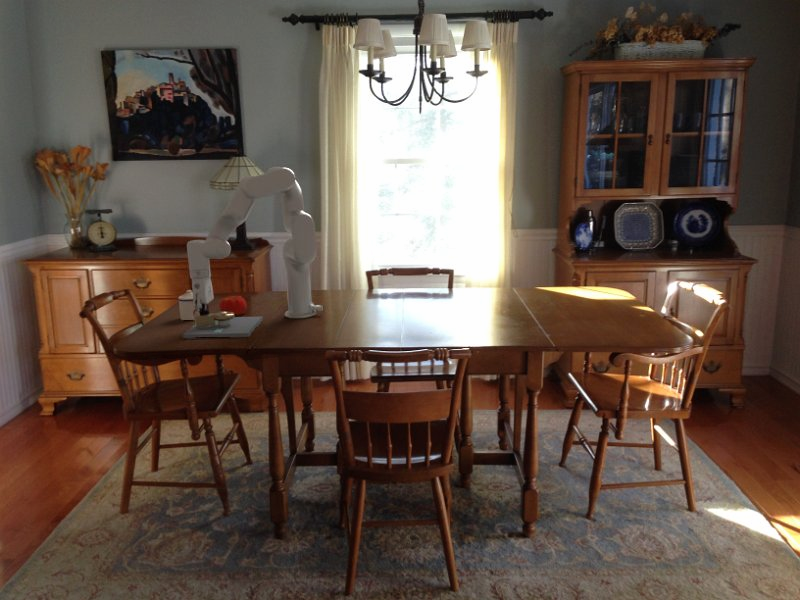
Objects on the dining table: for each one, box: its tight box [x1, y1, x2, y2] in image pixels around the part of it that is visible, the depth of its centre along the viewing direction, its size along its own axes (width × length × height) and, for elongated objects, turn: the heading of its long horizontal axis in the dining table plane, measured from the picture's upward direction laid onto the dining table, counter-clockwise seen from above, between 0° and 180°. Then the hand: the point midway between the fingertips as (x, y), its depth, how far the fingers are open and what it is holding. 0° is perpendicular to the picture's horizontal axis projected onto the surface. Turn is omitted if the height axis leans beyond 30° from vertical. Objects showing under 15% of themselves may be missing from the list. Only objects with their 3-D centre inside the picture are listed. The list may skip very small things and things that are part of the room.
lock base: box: [182, 316, 264, 339], centre depth 257 cm, size 24×24×4 cm
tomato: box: [219, 295, 248, 317], centre depth 278 cm, size 11×11×8 cm
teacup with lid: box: [177, 289, 200, 321], centre depth 275 cm, size 12×9×12 cm
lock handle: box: [194, 311, 235, 328], centre depth 255 cm, size 14×8×4 cm, turn 117°
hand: (205, 320), depth 257 cm, fingers closed
